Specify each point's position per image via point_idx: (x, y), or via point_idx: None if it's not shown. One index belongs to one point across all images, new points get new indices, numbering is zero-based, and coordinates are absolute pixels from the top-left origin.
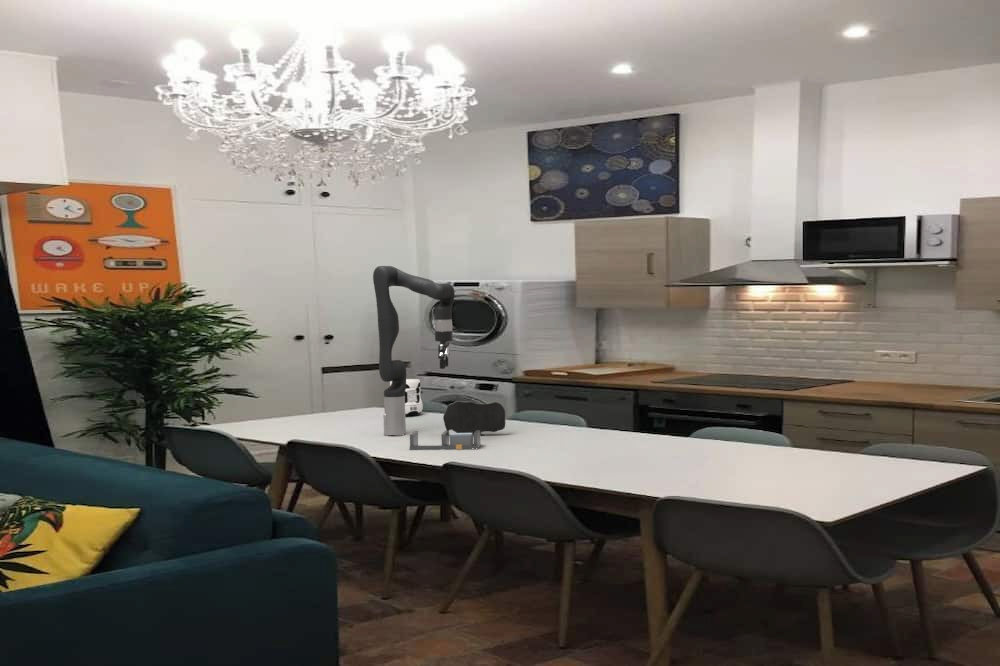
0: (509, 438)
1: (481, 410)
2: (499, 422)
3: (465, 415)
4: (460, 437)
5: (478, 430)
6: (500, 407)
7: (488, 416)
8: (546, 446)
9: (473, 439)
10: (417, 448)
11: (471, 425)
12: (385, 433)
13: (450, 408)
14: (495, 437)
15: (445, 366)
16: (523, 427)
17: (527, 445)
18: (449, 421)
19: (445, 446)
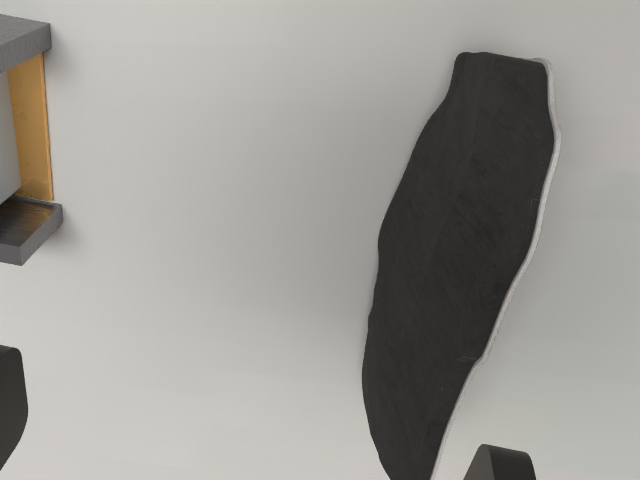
0: (256, 364)
1: (423, 360)
2: (368, 389)
3: (444, 238)
4: None
5: (12, 257)
6: (396, 471)
7: (394, 366)
8: (20, 451)
9: None
10: None
11: (410, 236)
12: None
13: (511, 151)
14: (304, 312)
15: (468, 472)
16: (607, 459)
17: (44, 400)
18: (467, 98)
19: None
